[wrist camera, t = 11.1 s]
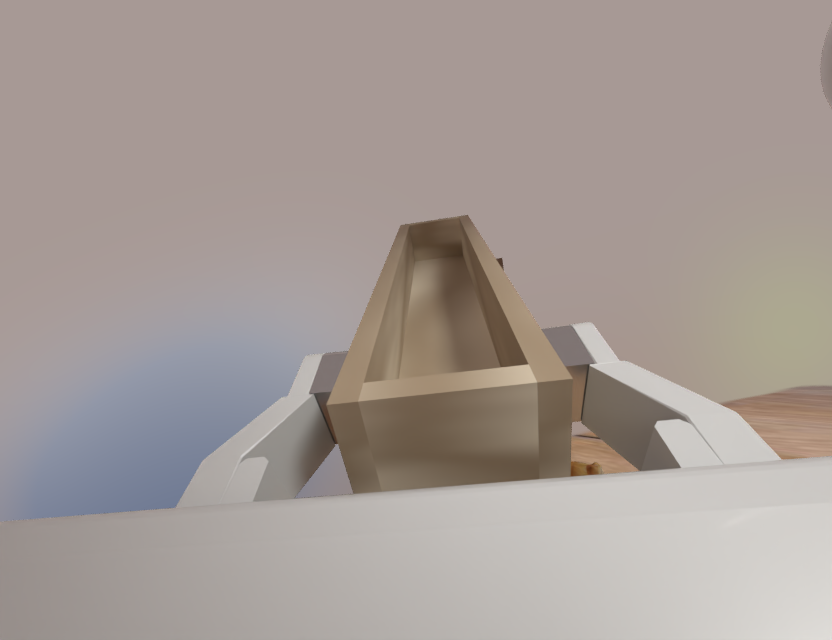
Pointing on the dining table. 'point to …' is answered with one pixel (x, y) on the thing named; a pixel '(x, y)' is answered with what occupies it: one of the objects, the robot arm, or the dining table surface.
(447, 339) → the birch crate
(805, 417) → the dining table surface
